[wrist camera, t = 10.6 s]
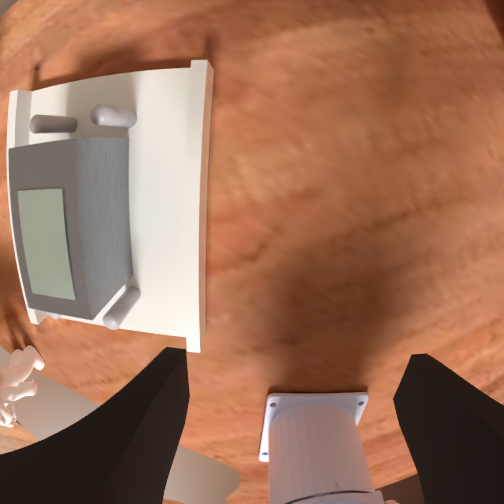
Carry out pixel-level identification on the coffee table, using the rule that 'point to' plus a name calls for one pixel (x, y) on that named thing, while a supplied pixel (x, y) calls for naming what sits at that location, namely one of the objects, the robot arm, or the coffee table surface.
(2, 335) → the coffee table surface
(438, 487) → the robot arm
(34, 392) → the flower shoulder figurine
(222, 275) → the coffee table surface
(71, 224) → the grey rectangular block
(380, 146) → the coffee table surface
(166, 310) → the tray
